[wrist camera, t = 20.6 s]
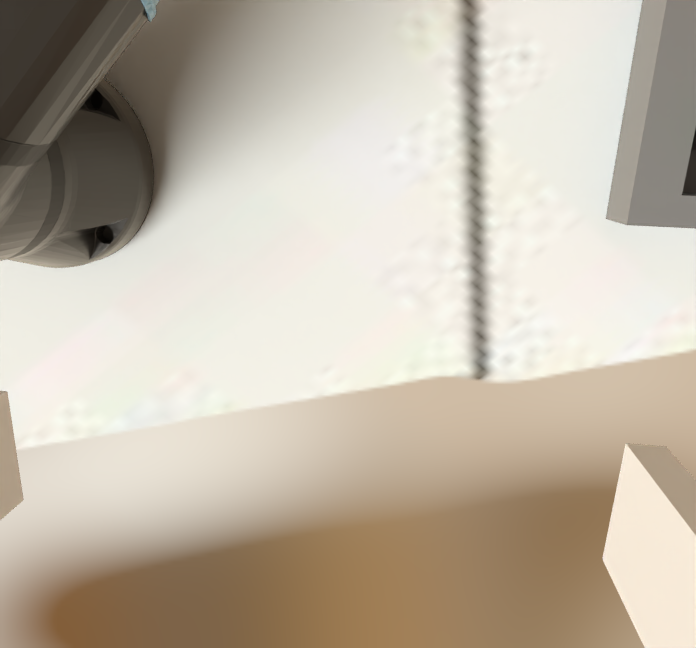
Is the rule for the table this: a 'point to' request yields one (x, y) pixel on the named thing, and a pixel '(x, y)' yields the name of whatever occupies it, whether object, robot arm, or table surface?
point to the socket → (659, 122)
